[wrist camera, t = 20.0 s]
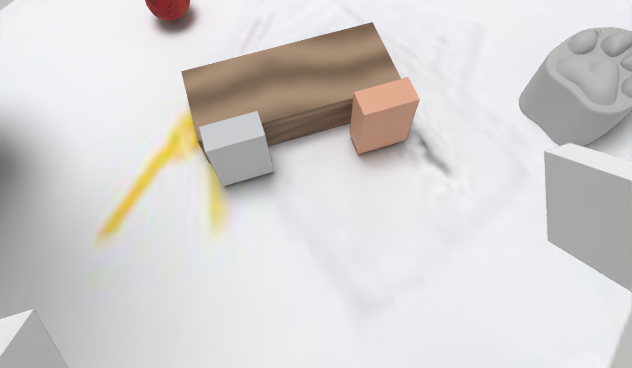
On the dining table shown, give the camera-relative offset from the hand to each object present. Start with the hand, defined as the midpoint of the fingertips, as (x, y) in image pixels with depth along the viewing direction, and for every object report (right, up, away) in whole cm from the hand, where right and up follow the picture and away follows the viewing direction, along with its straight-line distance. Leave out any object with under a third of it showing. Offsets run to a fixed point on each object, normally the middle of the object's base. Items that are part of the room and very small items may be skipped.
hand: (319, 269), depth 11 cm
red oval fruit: (-20, +26, +50) cm, 59 cm away
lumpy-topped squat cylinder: (+32, +12, +42) cm, 55 cm away
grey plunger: (-10, +8, +40) cm, 42 cm away
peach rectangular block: (+6, +12, +42) cm, 44 cm away
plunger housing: (-3, +12, +43) cm, 45 cm away
